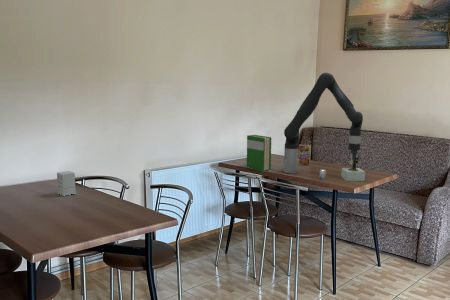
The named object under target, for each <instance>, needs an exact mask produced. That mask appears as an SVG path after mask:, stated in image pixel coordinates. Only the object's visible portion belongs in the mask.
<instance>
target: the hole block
mask: <svg viewBox="0 0 450 300" xmlns="http://www.w3.org/2000/svg"><path fill="white" fill-rule="evenodd" d="M340 176H341V178H342V179H343V180H344V181H345V182H346V181H347V182H365V179H366V171H364V170H363V169H361V168H359V167H358V168H357V167H356V171H350V167H342V168H341V173H340Z"/></svg>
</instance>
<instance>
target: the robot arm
mask: <svg viewBox="0 0 450 300" xmlns="http://www.w3.org/2000/svg"><path fill="white" fill-rule="evenodd" d="M326 89H327V90H329V92H330V93H331V94H332V96H333V97H334V99H335V101H336V103H337V104H338V106H339V107H340V108H341V109H342V111H344V113H345V115H346V117H347V119H348V120H349V121H350V123H351V126H350V128H349V134H348V135H349V136H348V150H350V151H349V152H348V153H349V155H348V156H349V157H348V158H349V161H351V155H352V160H353V167H352V168H353V169H356V168H357V167H356V163H357V164H359V158H360V155H359V152H358V151H361V144H362V143H361V142H362V140H361V139H362V137H361V136H362V126H363V120H364V119H363V118H364V117H363V114H362V112H361V111H357V110H356V109H355V107H354V104H353V103H352V101H351V100H350V99H349V98H348V96H347V95H346V93H345V92H344V91H343V90H342V89H341V88H340V86H339V84H338V83H337V81H336V79H335V77H334V75H333V74H332V73H329V72H322V73H321V74H320V75H319V77H318V78H317V80H316V82H315V83H314V85H313V87H312V89H311V90H310V92H309V93H308V94H307V95H306V97H305V98H304V100H303V101H302V103H301V104H300V107H299V108H298V110H297V112H296V113H295V115H294V116H293V119H292V120H290V122H289V123H288V124H287V126H286V127H284V128H285V129H284V130H283V134H284V137H285V143H284V151H283V152H284V153H283V154H284V158H283V167H282V168H283V173H284V174H297V173H298V151H299V145H300V144H299V143H300V129H301V127H302V125H303V124H304V123H305V122H306V121H307V120H308V119H309V117H311V116H312V114H313V113H314V111H315V109H316V108H317V107H318V104H319V102H320V99H321V97H322V94H323V93H324V92H325V90H326ZM355 160H356V161H355Z"/></svg>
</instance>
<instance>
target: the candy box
mask: <svg viewBox="0 0 450 300" xmlns="http://www.w3.org/2000/svg"><path fill="white" fill-rule="evenodd" d="M311 153H312V144H311V145H309V144H298V161H297V166H311V156H312V155H311Z"/></svg>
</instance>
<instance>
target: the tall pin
mask: <svg viewBox="0 0 450 300" xmlns="http://www.w3.org/2000/svg"><path fill="white" fill-rule="evenodd" d="M349 161H350V160H349ZM355 161H356V160H355ZM349 164H350V165H349V168H350V171H356V169H353V168H352V167H353V160H352V155H351V161H350V163H349ZM357 165H358V163H356V168H357Z"/></svg>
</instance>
